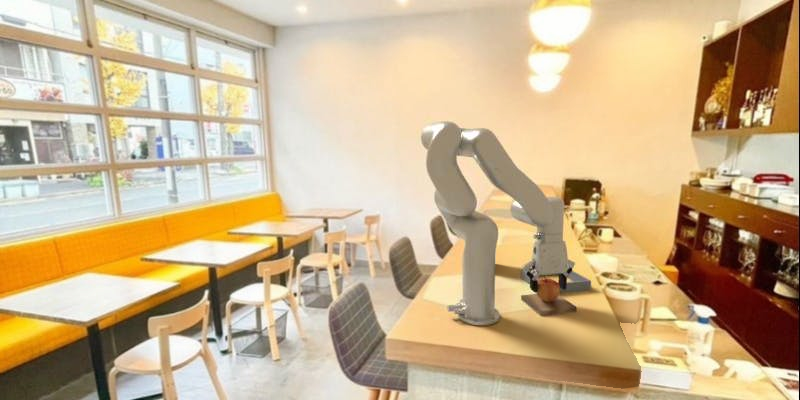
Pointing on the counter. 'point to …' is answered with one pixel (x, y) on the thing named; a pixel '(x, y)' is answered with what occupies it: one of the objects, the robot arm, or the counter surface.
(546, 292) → the apple
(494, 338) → the counter surface
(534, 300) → the board
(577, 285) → the bin
